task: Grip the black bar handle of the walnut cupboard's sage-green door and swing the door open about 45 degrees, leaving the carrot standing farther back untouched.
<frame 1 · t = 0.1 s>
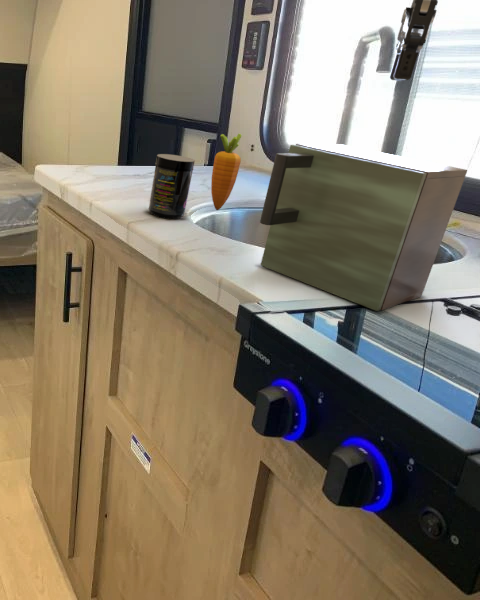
hand: (398, 80, 89), 27 cm above the countertop, tool pointing down, fingers open, 8 cm apart
cupboard door: (320, 226, 76), point 9 cm above the countertop, hinge at 0.0°
supplement container: (165, 215, 110), on the countertop
cupboard: (341, 280, 85), on the countertop
carrot: (216, 211, 119), on the countertop
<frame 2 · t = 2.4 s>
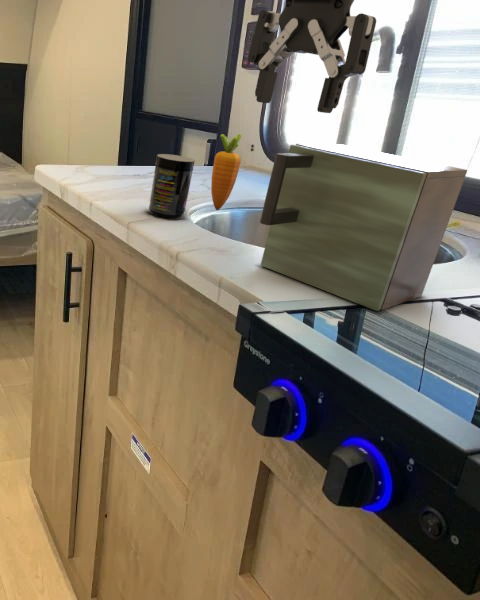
hand: (292, 107, 73), 22 cm above the countertop, tool pointing down, fingers open, 8 cm apart
nothing on the countertop moved.
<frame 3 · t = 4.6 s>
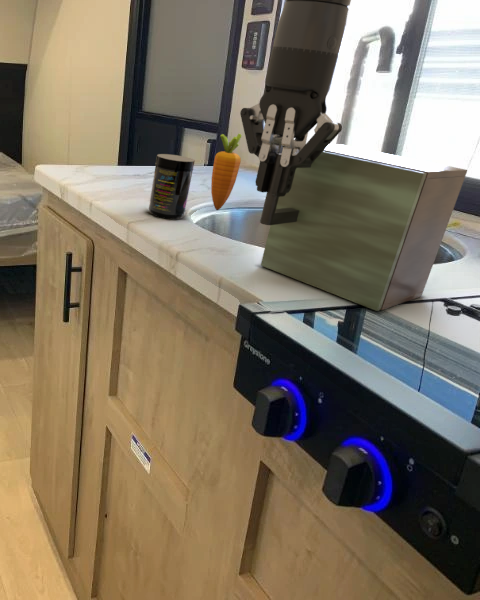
hand: (270, 193, 77), 12 cm above the countertop, tool pointing down, fingers closed on cupboard door
cupboard door: (320, 226, 76), point 9 cm above the countertop, hinge at 0.0°, touching gripper
everything else where it was.
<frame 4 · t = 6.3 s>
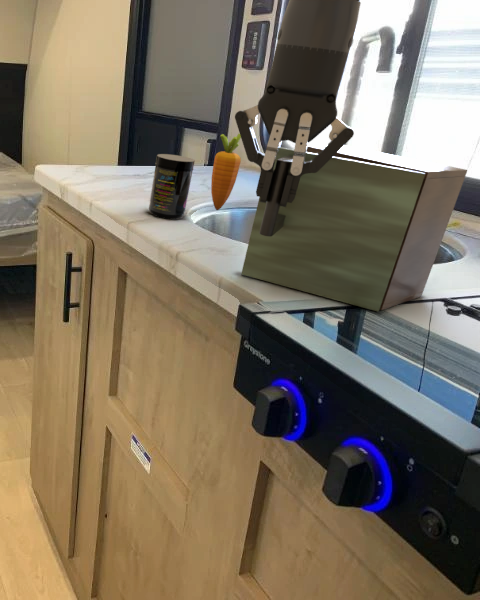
hand: (273, 202, 71), 12 cm above the countertop, tool pointing down, fingers closed on cupboard door, 2 cm apart
cupboard door: (321, 232, 73), point 9 cm above the countertop, hinge at 22.0°, touching gripper
everything else where it was.
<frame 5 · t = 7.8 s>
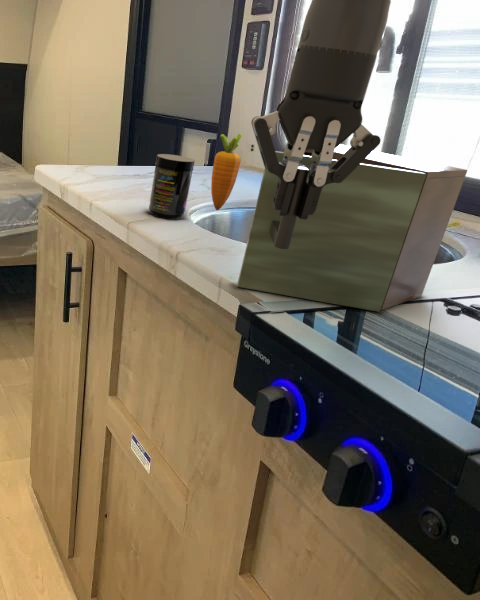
hand: (290, 215, 66), 12 cm above the countertop, tool pointing down, fingers closed on cupboard door, 2 cm apart
cupboard door: (330, 240, 70), point 9 cm above the countertop, hinge at 40.1°, touching gripper
everything else where it was.
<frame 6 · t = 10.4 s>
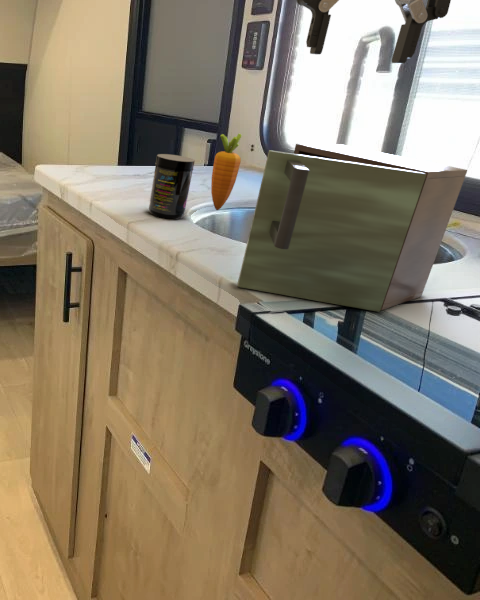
hand: (356, 58, 62), 28 cm above the countertop, tool pointing down, fingers open, 8 cm apart
cupboard door: (330, 240, 70), point 9 cm above the countertop, hinge at 40.1°
everything else where it was.
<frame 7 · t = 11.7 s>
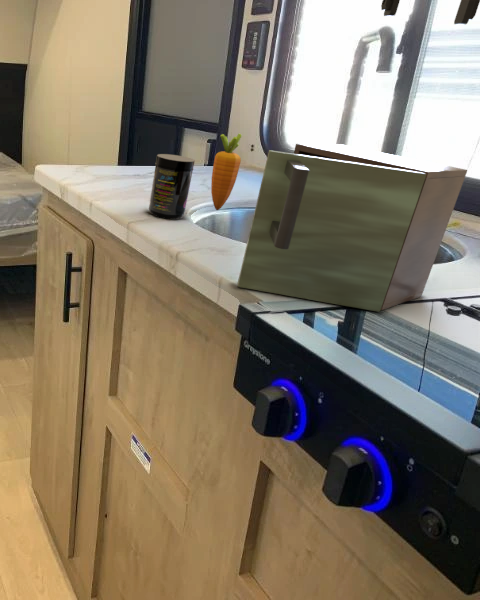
hand: (424, 20, 73), 34 cm above the countertop, tool pointing down, fingers open, 8 cm apart
nothing on the countertop moved.
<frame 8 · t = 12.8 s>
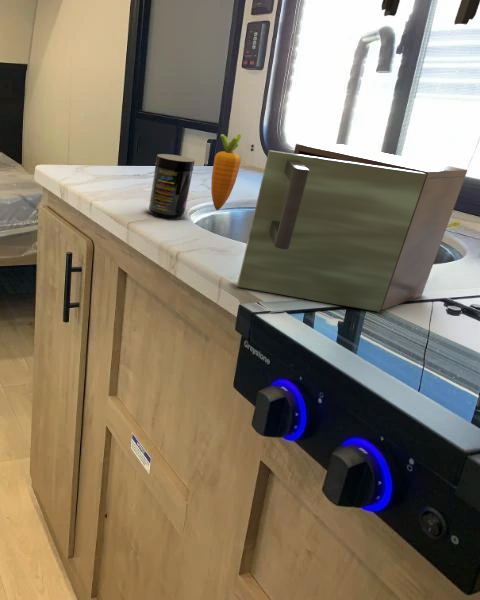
hand: (424, 20, 73), 34 cm above the countertop, tool pointing down, fingers open, 8 cm apart
nothing on the countertop moved.
at the end: cupboard door at +40° (first picture: +0°); carrot moved 0.2 cm from its start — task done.
